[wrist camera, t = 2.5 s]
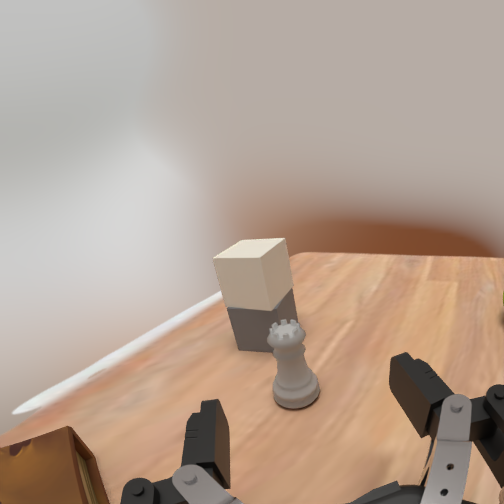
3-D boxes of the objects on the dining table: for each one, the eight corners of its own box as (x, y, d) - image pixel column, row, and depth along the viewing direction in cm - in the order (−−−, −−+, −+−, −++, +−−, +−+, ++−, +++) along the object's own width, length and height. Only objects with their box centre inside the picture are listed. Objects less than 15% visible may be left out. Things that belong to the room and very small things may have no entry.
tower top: (251, 284, 39) (241, 240, 38) (293, 285, 36) (285, 238, 34) (225, 306, 34) (212, 258, 33) (271, 310, 31) (260, 257, 30)
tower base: (256, 324, 41) (247, 285, 39) (298, 325, 38) (291, 284, 37) (238, 350, 36) (226, 308, 34) (285, 353, 33) (276, 308, 31)
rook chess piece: (321, 377, 28) (312, 310, 25) (319, 410, 24) (310, 340, 21) (277, 380, 29) (262, 315, 27) (270, 411, 25) (252, 344, 22)
